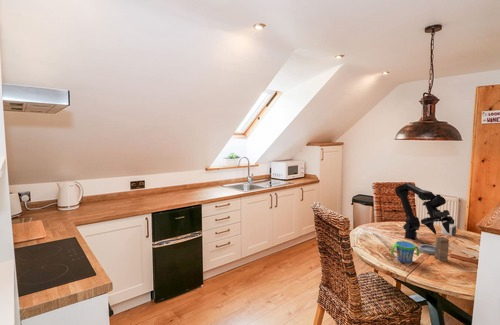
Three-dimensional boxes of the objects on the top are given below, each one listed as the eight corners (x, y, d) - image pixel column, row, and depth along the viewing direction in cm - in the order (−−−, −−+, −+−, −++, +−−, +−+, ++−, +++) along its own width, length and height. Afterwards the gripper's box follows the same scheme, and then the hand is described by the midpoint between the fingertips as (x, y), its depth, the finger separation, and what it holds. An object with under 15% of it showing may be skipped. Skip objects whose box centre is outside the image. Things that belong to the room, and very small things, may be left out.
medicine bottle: (451, 236, 203) (452, 220, 202) (441, 233, 209) (441, 218, 208) (456, 234, 207) (457, 218, 206) (445, 231, 213) (446, 216, 212)
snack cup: (414, 257, 170) (415, 241, 169) (422, 265, 159) (423, 248, 158) (387, 256, 172) (388, 240, 171) (394, 263, 162) (394, 247, 161)
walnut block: (434, 257, 169) (435, 237, 168) (442, 257, 169) (443, 237, 168) (439, 261, 164) (440, 240, 163) (447, 261, 164) (448, 240, 163)
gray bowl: (415, 250, 179) (415, 247, 179) (421, 245, 187) (421, 242, 187) (437, 256, 170) (437, 253, 170) (442, 250, 179) (442, 247, 179)
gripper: (427, 206, 172) (437, 231, 165) (454, 204, 175) (465, 229, 168) (416, 211, 182) (425, 235, 175) (441, 210, 185) (451, 233, 177)
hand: (442, 233), depth 173 cm, fingers open, 9 cm apart
